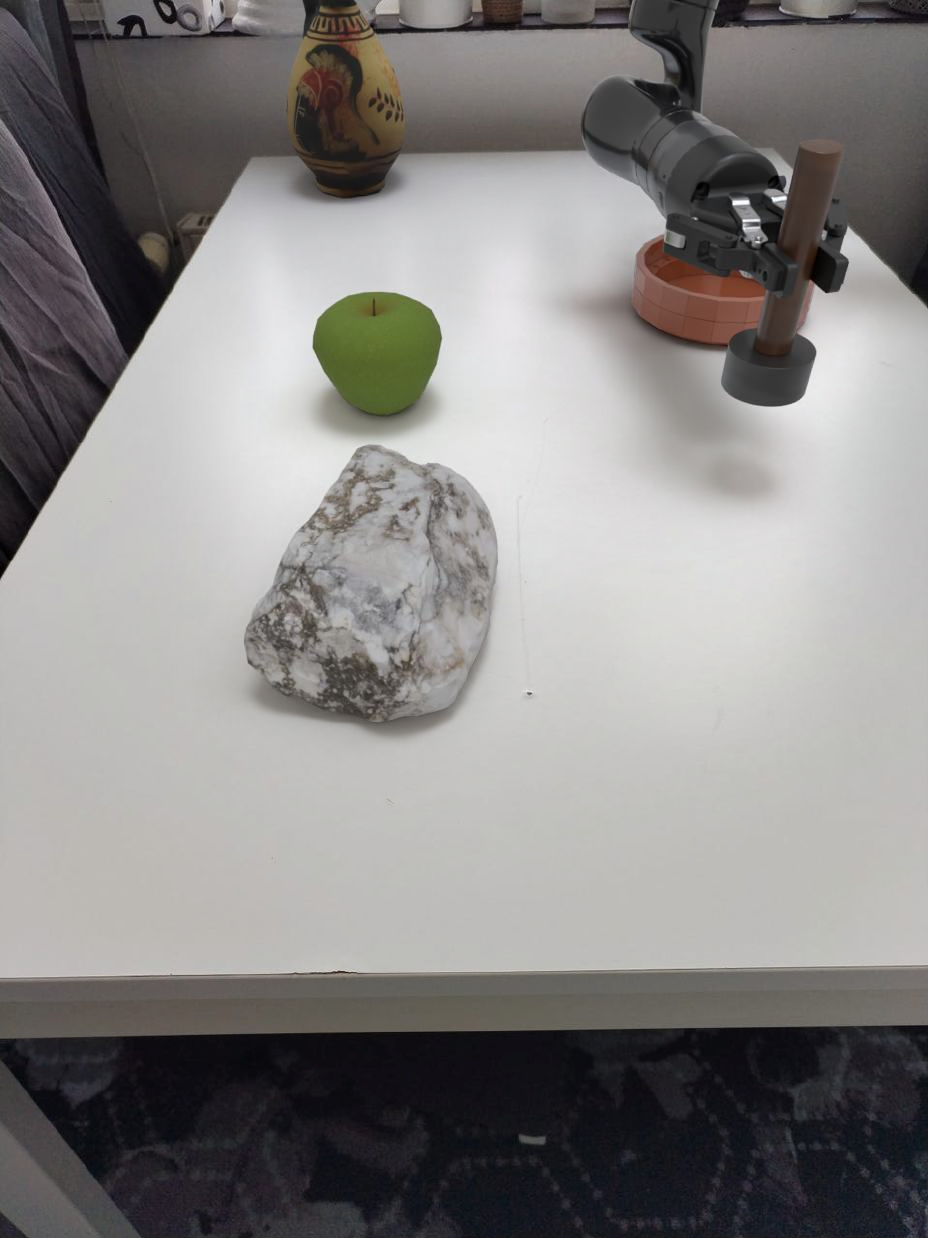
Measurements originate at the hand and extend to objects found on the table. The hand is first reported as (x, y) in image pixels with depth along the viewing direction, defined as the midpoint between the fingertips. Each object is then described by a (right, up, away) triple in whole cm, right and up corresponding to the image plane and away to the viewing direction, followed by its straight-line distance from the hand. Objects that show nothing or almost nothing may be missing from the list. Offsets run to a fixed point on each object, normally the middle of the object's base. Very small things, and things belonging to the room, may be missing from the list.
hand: (814, 280), depth 54 cm
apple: (-29, -2, +23) cm, 37 cm away
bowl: (+4, +11, +35) cm, 36 cm away
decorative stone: (-26, -21, +4) cm, 34 cm away
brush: (0, -4, +8) cm, 9 cm away
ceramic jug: (-38, +38, +64) cm, 83 cm away
